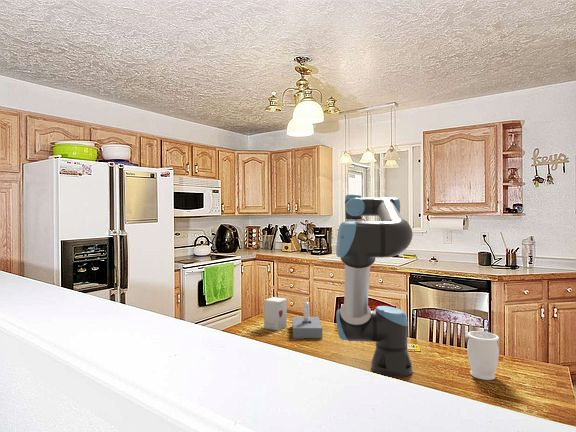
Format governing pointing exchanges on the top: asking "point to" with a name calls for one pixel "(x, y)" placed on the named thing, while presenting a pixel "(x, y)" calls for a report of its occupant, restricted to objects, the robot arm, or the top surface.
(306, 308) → the steel pin
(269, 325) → the supplement box
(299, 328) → the hole block
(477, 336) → the jar
